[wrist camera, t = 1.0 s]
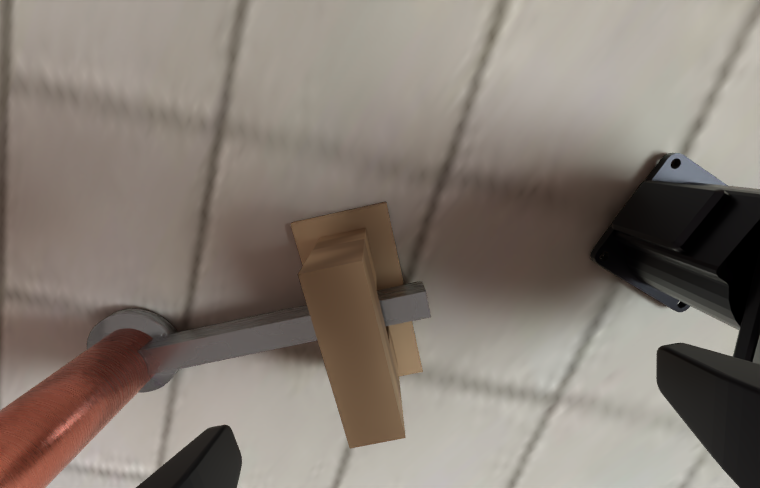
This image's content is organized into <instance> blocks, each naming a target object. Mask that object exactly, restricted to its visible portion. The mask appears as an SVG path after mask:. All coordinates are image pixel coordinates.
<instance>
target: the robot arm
mask: <svg viewBox="0 0 760 488" xmlns="http://www.w3.org/2000/svg"><path fill="white" fill-rule="evenodd" d="M672 160H674V165H673V166H672V167H671V162H672ZM603 252H604V256H603V257H602V258H601V259H600V254H601V253H603ZM590 257H591V260H592V261H593V262H595V263H596V264H598V265H600V266H601V267H603V268H605V269H606V270H608V271H609V272H611V273H613V274H614V275H616V276H618V277H619V278H621V279H623V280H624V281H626V282H628V283H629V284H631V285H633V286H634V287H636V288H638V289H639V290H641V291H643V292H644V293H646V294H648V295H649V296H651V297H653V298H654V299H656V300H658V301H659V302H661V303H662V304H664V305H666V306H667V307H669V308H671V309H673V310H675V311H677V312H683V311H686V310H687V309H688V308H689V307H690V306H691V307H693V308H695V309H697V310H700V311H702V312H704V313H706V314H708V315H710V316H712V317H714V318H716V319H718V320H720V321H722V322H724V323H726V324H728V325H730V326H732V327H734V328H736V329H738V330H739V334H738V338H737V342H736V346H735V350H734V354H733V357H732V356H728V355H725V354H721V353H717V352H714V351H710V350H707V349H703V348H699V347H696V346H692V345H689V344H685V343H675V344H669V345H664V346H661V347H659V348H658V350H657V384H658V387H659V389H660V391H661V393H662V394H663V396H664V397H665V398H666V399H667V401H668V402H669V403H670V404H671V406H672V407H673V408H674V409H675V411H676V412H677V413H678V414H679V416H680V417H681V418H682V419H683V421H684V422H685V423H686V424H687V426H688V427H689V428H690V429H691V431H692V432H693V433H694V434H695V436H696V437H697V438H698V439H699V441H700V442H701V443H702V444H703V446H704V447H705V448H706V449H707V451H708V452H709V453H710V454H711V456H712V457H713V458H714V459H715V460H716V461H717V463H718V464H719V465H720V466H721V467H722V469H723V470H724V471H725V472H726V473H727V474H728V475H729V476H730V477H731V479H732V480H733V481H734V482H735V483H736V484H737V485H738V486H739V487H740V488H760V189H753V188H744V187H734V186H728V185H726V184H725V183H723V182H722V181H720V180H719V179H717V178H716V177H715V176H713V175H712V174H710V173H709V172H707V171H706V170H704V169H703V168H702V167H700V166H699V165H697V164H696V163H694V162H693V161H691V160H690V159H689V158H687V157H686V156H684V155H683V154H680V153H669V154H666V155H665V156H664V157H663V158H662V159H661V160H660V161H659V163H658V164H657V165H656V167H655V168H654V169H653V170H652V172H651V173H650V174H649V176H648V177H647V178H646V180H645V181H644V182H643V183H642V184H641V185H640V186H639V188H638V189H637V190H636V192H635V193H634V194H633V196H632V197H631V198H630V200H629V201H628V202H627V203H626V205H625V206H624V207H623V209H622V210H621V211H620V213H619V214H618V215H617V217H616V218H615V219H614V221H613V222H612V225H611V226H610V227H609V229H608V230H607V231H606V233H605V234H604V235H603V237H602V238H601V239H600V241H599V242H598V243H597V244H596V246H595V247H594V248H593V250H592V252H591V255H590ZM679 301H680V303H679V304H678V302H679ZM241 466H242V457H241V453H240V450H239V447H238V445H237V442H236V440H235V437H234V434H233V432H232V430H231V428H230V427H229V426H228V425H221V426H215V427H210V428H208V429H206V430H205V431H204V432H203V433H201V434H200V435H199V436H198V437H197V438H195V439H194V440H193V441H192V442H191V443H189V444H188V445H187V446H186V447H184V448H183V449H182V450H181V451H180V452H178V453H177V454H176V455H175V456H174V457H172V458H171V459H170V460H169V461H168V462H166V463H165V464H164V465H163V466H162V467H160V468H159V469H158V470H157V471H156V472H154V473H153V474H152V475H151V476H150V477H148V478H147V479H146V480H145V481H143V482H142V483H141V484H140V485H139V486H137V487H136V488H237V484H238V480H239V476H240V471H241Z"/></svg>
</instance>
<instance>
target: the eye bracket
mask: <svg viewBox="0 0 760 488" xmlns="http://www.w3.org/2000/svg"><path fill="white" fill-rule="evenodd" d="M290 225H291V228H292V231H293V235H294V238H295V242H296V245H297V249H298V252H299V255H300V259H301V262H302V266H303V267H302V268H301V270H300V272H299V273H298V277H299V280H300V284H301V287H302V290H303V294H304V297H305V300H306V304H307V307H308V310H309V314H310V317H311V320H312V324H313V327H314V330H315V334H316V337H317V340H318V344H319V347H320V350H321V354H322V357H323V360H324V364H325V367H326V370H327V374H328V377H329V380H330V384H331V387H332V391H333V394H334V397H335V401H336V404H337V407H338V411H339V414H340V417H341V421H342V424H343V427H344V431H345V434H346V437H347V441H348V444H349V447H350V448H355V447H360V446H365V445H371V444H376V443H381V442H386V441H391V440H397V439H402V438H405V429H404V419H403V410H402V401H401V392H400V382H399V376H403V375H408V374H413V373H418V372H423V370H422V366H421V361H420V356H419V352H418V347H417V342H416V338H415V333H414V329H413V324H412V321H409V322H404V323H400V324H395V325H390V326H385V322H384V318H383V314H382V310H381V306H380V302H379V297H378V293H377V290H381V289H386V288H391V287H395V286H400V285H404V282H403V278H402V273H401V268H400V264H399V259H398V254H397V250H396V245H395V240H394V236H393V231H392V227H391V222H390V217H389V213H388V208H387V203H386V202H382V203H378V204H373V205H369V206H364V207H360V208H355V209H351V210H346V211H342V212H337V213H333V214H328V215H324V216H319V217H314V218H310V219H305V220H301V221H296V222H292V223H291V224H290Z"/></svg>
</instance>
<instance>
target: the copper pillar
mask: <svg viewBox="0 0 760 488" xmlns="http://www.w3.org/2000/svg"><path fill="white" fill-rule="evenodd" d="M377 293H378V297H379V302H380V306H381V310H382V314H383V318H384V322H385V326H390V325H395V324H400V323H404V322H409V321H414V320H419V319H424V318H429V317H431V315H430V310H429V305H428V300H427V295H426V291H425V288H424V285H423V282H422V281H419V282H414V283H410V284H405V285H400V286H395V287H391V288H386V289H381V290H377ZM312 341H317V337H316V334H315V330H314V327H313V324H312V320H311V317H310V314H309V310H308V307H307V305H305V306H300V307H296V308H291V309H286V310H281V311H277V312H272V313H267V314H262V315H258V316H253V317H248V318H243V319H239V320H234V321H229V322H224V323H220V324H215V325H210V326H205V327H200V328H196V329H191V330H186V331H181V332H177V331H176V329H175V328H174V327H173V326H172V325H171V324H170V323H169V322H168V321H167V320H165V319H164V318H162V317H161V316H159V315H157V314H155V313H153V312H150V311H147V310H142V309H125V310H121V311H118V312H115V313H113V314H112V315H110V316H108V317H107V318H105V319H104V320H102V321H101V322H99V323H98V324H97V325H96V326H95V327H94V328H93V329H92V331H91V333H90V334H89V337H88V341H87V350H86V351H85V352H83V353H82V354H80V355H79V356H78V357H76V358H75V359H73V360H72V361H70V362H69V363H68V364H66V365H65V366H63V367H62V368H60V369H59V370H58V371H56V372H55V373H53V374H52V375H50V376H49V377H48V378H46V379H45V380H43V381H42V382H40V383H39V384H38V385H36V386H35V387H33V388H32V389H30V390H29V391H28V392H26V393H25V394H23V395H22V396H20V397H19V398H18V399H16V400H15V401H13V402H12V403H10V404H9V405H8V406H6V407H5V408H3V409H2V410H0V488H46V486H47V485H48V484H49V483H50V482H51V481H52V480H53V479H54V478H55V477H56V476H57V475H58V474H59V473H60V472H61V471H62V470H63V469H64V468H65V467H66V466H67V465H68V464H69V463H70V462H71V461H72V460H73V459H74V458H75V457H76V456H77V455H78V454H79V452H80V451H81V450H82V449H83V448H84V447H85V446H86V445H87V444H88V443H89V442H90V441H91V440H92V439H93V438H94V437H95V436H96V435H97V434H98V433H99V432H100V431H101V430H102V429H103V428H104V427H105V426H106V425H107V424H108V423H109V422H110V421H111V419H112V418H113V417H114V416H115V415H116V414H117V413H118V412H119V411H120V410H121V409H122V408H123V407H124V406H125V405H126V404H127V403H128V402H129V401H130V400H131V399H132V398H133V397H134V396H135V395H136V394H137V393H138V392H149V391H153V390H156V389H159V388H161V387H162V386H164V385H165V384H166V383H168V382H169V381H170V379H171V378H172V377H173V376H174V375H175V374H176V373H177V372H178V370H179V369H181V368H186V367H191V366H196V365H200V364H205V363H210V362H215V361H220V360H225V359H230V358H234V357H239V356H244V355H249V354H254V353H259V352H264V351H268V350H273V349H278V348H283V347H288V346H293V345H298V344H302V343H307V342H312Z"/></svg>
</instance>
